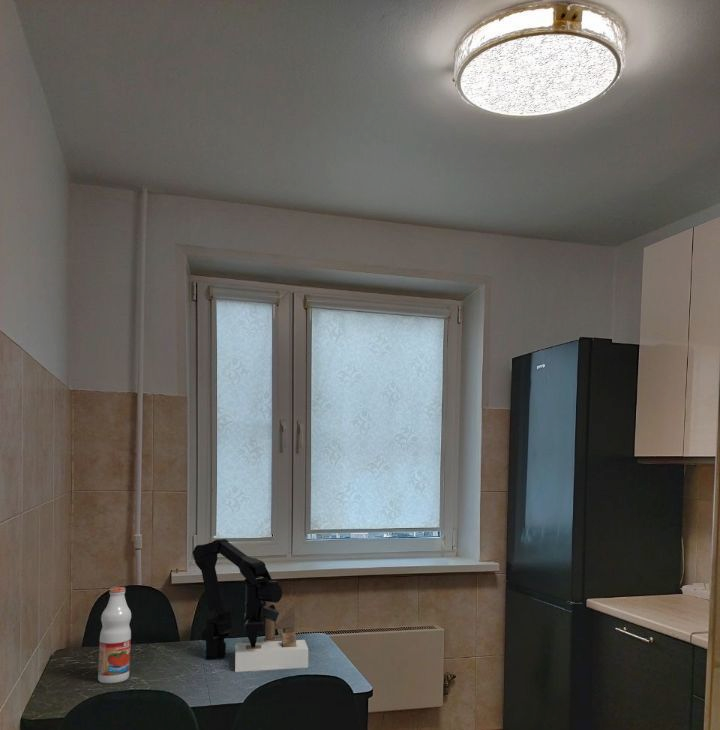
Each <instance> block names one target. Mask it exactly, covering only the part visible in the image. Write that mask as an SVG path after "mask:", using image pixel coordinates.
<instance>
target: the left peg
mask: <svg viewBox="0 0 720 730" xmlns="http://www.w3.org/2000/svg"><path fill="white" fill-rule="evenodd" d="M247 649H260V645H255V647H251V646H247Z"/></svg>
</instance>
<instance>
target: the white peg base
mask: <svg viewBox="0 0 720 730" xmlns="http://www.w3.org/2000/svg"><path fill="white" fill-rule="evenodd" d="M234 645H235V649H234V650H235V651H234V653H235V655H234V659H235V660H234V667H235V668H234V672H235V673H240V672H257V671H274V670H289V669H293V670H294V669H307V668H309V648H308V644H307V642H306V640H305V639H296V647H282V641H270V642H264V641H256V645H260V649H247V646H251V644H250V642H235V644H234Z"/></svg>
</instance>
